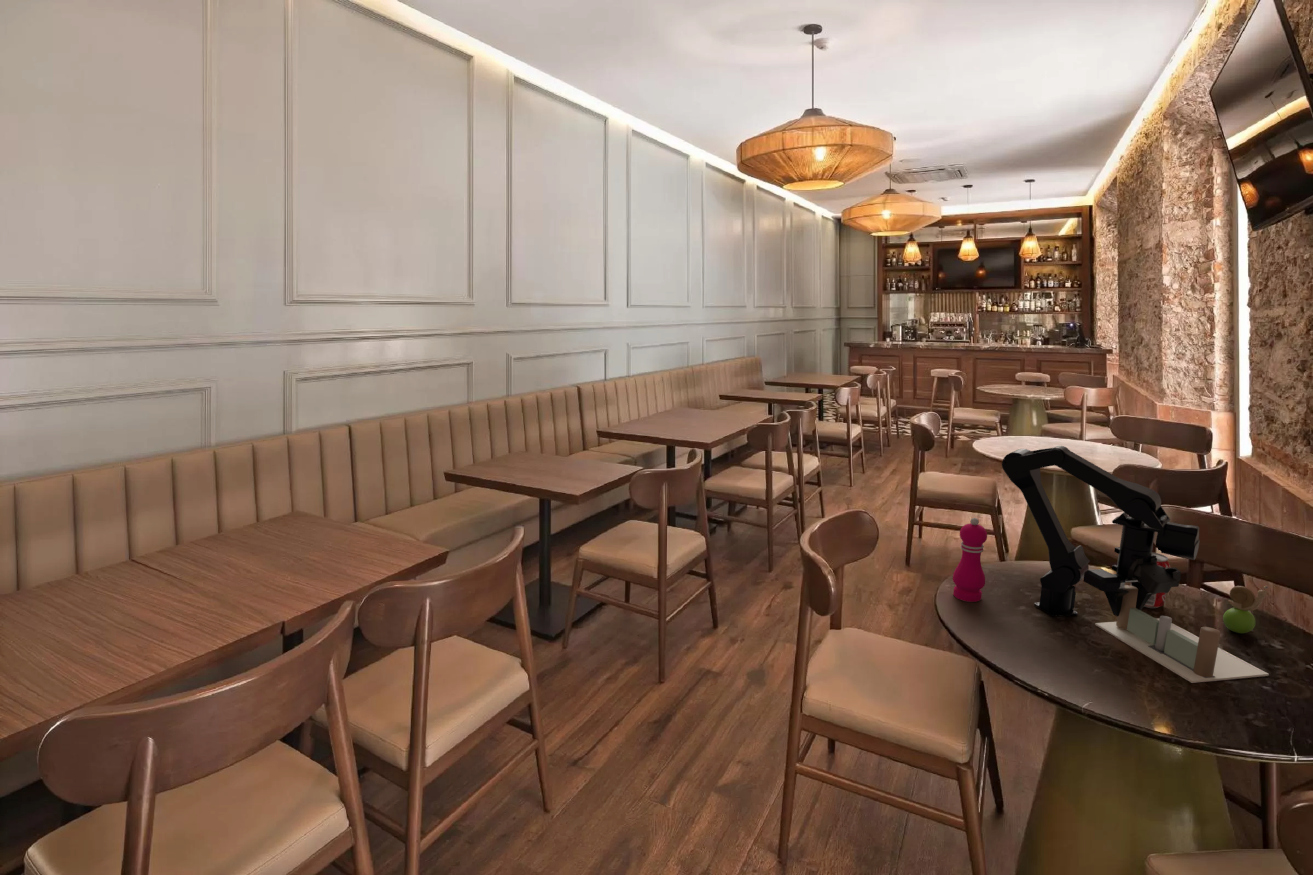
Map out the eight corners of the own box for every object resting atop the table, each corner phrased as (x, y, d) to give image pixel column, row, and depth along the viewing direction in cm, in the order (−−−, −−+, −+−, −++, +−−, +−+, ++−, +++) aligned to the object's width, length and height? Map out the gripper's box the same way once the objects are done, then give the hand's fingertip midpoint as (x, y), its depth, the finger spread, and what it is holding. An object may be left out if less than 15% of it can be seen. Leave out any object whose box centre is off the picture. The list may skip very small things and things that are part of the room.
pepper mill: (945, 590, 173) (952, 513, 169) (973, 589, 174) (981, 512, 170) (960, 603, 166) (968, 523, 162) (989, 602, 167) (998, 522, 163)
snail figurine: (1251, 641, 148) (1261, 588, 146) (1216, 629, 154) (1225, 577, 151) (1263, 636, 151) (1273, 584, 148) (1228, 623, 156) (1237, 573, 154)
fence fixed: (1216, 676, 134) (1224, 633, 132) (1203, 678, 133) (1211, 634, 131) (1163, 646, 145) (1169, 606, 143) (1150, 647, 145) (1156, 606, 143)
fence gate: (1162, 643, 145) (1168, 603, 144) (1149, 644, 145) (1155, 604, 143) (1124, 622, 155) (1130, 584, 153) (1112, 623, 154) (1118, 585, 153)
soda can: (1153, 597, 170) (1160, 551, 167) (1171, 610, 163) (1178, 562, 160) (1122, 596, 170) (1129, 550, 168) (1138, 609, 163) (1146, 560, 161)
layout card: (1191, 682, 132) (1192, 680, 132) (1094, 624, 156) (1095, 622, 155) (1268, 675, 135) (1268, 673, 135) (1161, 619, 158) (1162, 617, 158)
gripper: (1127, 563, 140) (1117, 635, 143) (1208, 558, 143) (1196, 628, 146) (1086, 544, 151) (1077, 611, 154) (1161, 539, 154) (1151, 605, 157)
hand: (1125, 614), depth 153 cm, fingers open, 5 cm apart
